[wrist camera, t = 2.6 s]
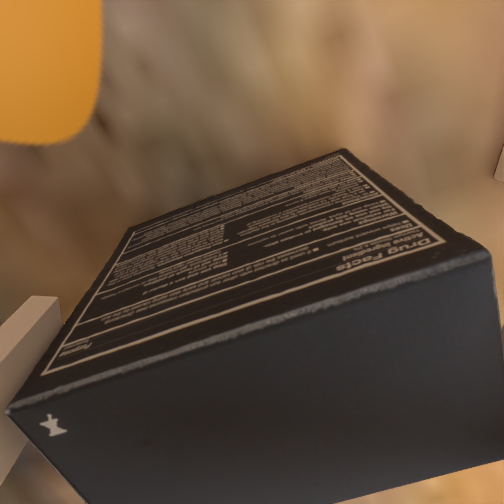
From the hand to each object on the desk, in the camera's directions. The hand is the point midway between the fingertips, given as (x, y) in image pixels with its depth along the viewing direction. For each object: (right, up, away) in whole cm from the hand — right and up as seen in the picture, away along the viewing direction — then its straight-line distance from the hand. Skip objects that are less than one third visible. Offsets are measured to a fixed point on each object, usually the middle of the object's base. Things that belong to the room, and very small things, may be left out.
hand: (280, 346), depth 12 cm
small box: (-1, +3, +7) cm, 7 cm away
